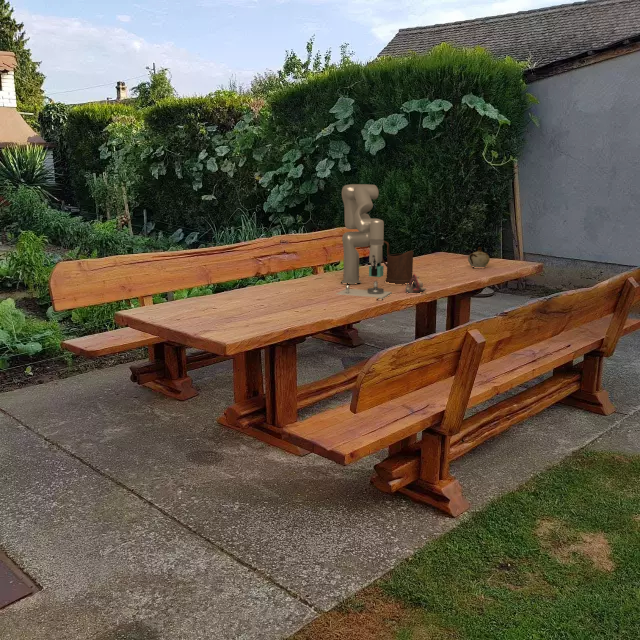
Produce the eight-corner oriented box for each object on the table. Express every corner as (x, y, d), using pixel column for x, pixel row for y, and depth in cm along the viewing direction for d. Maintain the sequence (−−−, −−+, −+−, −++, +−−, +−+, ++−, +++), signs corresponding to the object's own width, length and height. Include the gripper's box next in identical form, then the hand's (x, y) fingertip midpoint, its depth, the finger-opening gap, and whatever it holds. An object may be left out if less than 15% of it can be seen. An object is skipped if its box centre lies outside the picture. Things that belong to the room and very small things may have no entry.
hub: (370, 290, 381) (370, 279, 380) (385, 292, 378) (385, 280, 377) (365, 293, 373) (365, 282, 372) (380, 294, 370) (381, 283, 369)
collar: (372, 274, 377) (372, 265, 376) (383, 275, 375) (383, 265, 374) (368, 276, 371) (369, 266, 370) (380, 277, 369) (380, 267, 368)
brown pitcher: (404, 286, 406) (406, 244, 400) (371, 282, 420) (371, 242, 415) (419, 282, 420) (421, 242, 415) (386, 278, 434) (387, 239, 429)
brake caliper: (398, 288, 386) (410, 270, 386) (411, 298, 390) (423, 281, 391) (408, 291, 375) (420, 273, 376) (421, 302, 380) (433, 284, 380)
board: (346, 291, 389) (346, 288, 389) (391, 294, 379) (391, 291, 379) (334, 296, 372) (334, 294, 371) (381, 300, 362) (381, 297, 362)
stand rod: (346, 292, 376) (346, 284, 375) (349, 293, 375) (350, 285, 374) (345, 293, 374) (345, 285, 373) (348, 293, 373) (348, 285, 372)
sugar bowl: (478, 265, 491) (479, 245, 488) (495, 268, 480) (496, 246, 477) (461, 268, 479) (462, 247, 476) (477, 270, 468) (479, 249, 465)
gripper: (374, 240, 379) (374, 272, 382) (365, 243, 363) (364, 276, 367) (387, 241, 376) (387, 273, 380) (378, 244, 360) (378, 277, 364)
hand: (376, 274), depth 373 cm, fingers closed on collar, 6 cm apart
